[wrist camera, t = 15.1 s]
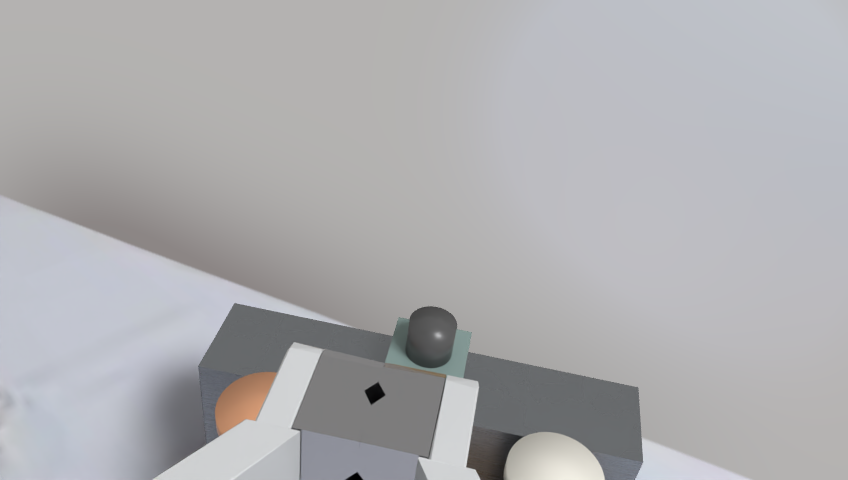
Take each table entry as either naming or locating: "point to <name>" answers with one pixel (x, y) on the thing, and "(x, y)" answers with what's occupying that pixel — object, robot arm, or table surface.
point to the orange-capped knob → (242, 400)
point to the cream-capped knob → (551, 459)
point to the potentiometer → (430, 343)
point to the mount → (498, 379)
